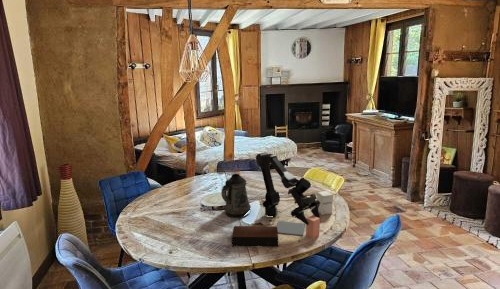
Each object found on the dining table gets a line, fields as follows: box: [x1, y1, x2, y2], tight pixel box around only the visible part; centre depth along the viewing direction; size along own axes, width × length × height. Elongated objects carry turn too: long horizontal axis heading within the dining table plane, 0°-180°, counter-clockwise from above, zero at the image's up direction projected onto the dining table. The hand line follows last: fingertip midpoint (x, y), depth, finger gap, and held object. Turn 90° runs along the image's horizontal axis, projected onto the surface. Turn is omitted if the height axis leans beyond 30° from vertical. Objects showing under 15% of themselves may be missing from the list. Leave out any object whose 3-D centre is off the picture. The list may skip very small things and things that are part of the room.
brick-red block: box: [305, 214, 321, 239], centre depth 180 cm, size 5×5×10 cm
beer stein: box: [220, 173, 252, 219], centre depth 207 cm, size 16×19×25 cm
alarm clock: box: [231, 225, 279, 248], centre depth 175 cm, size 24×12×6 cm, turn 88°
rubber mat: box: [275, 220, 306, 237], centre depth 189 cm, size 16×14×1 cm
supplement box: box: [316, 190, 334, 216], centre depth 209 cm, size 7×7×13 cm
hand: (314, 222), depth 179 cm, fingers open, 9 cm apart
